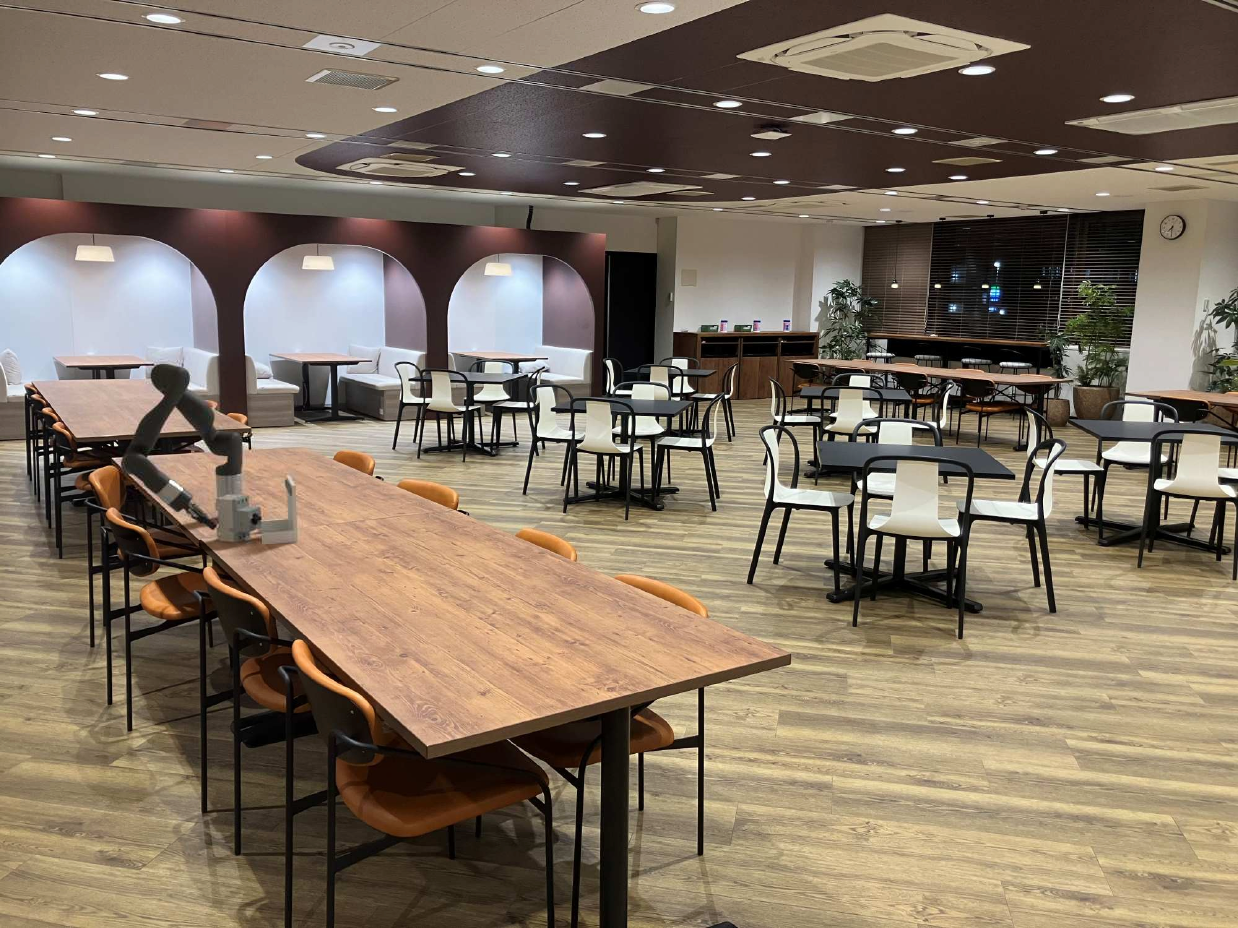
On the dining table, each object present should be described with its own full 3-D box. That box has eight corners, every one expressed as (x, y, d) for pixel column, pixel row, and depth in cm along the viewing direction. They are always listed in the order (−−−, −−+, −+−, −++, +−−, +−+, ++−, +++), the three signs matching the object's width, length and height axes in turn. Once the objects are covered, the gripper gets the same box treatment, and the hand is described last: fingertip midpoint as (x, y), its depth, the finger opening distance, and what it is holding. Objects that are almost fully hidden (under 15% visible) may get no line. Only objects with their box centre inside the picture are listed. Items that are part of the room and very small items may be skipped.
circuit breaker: (254, 543, 339) (252, 500, 337) (217, 540, 342) (214, 498, 340) (266, 538, 347) (264, 496, 344) (229, 535, 349) (227, 494, 347)
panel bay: (257, 531, 356) (255, 477, 352) (291, 529, 360) (289, 475, 357) (262, 544, 338) (259, 487, 334) (297, 541, 342) (295, 485, 339)
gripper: (182, 490, 328) (223, 523, 335) (182, 483, 340) (222, 515, 347) (165, 507, 327) (207, 540, 334) (166, 499, 339) (206, 531, 346)
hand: (215, 527), depth 340 cm, fingers closed
